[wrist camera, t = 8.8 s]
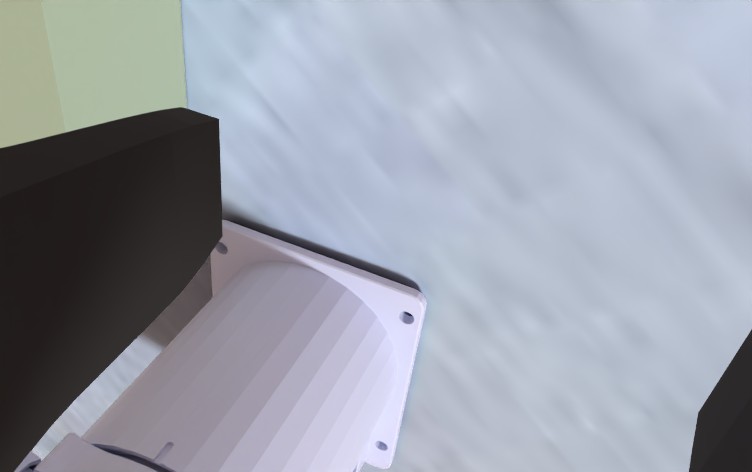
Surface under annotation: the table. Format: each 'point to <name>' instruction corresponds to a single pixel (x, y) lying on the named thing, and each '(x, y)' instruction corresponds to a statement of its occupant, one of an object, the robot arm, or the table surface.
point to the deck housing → (86, 64)
